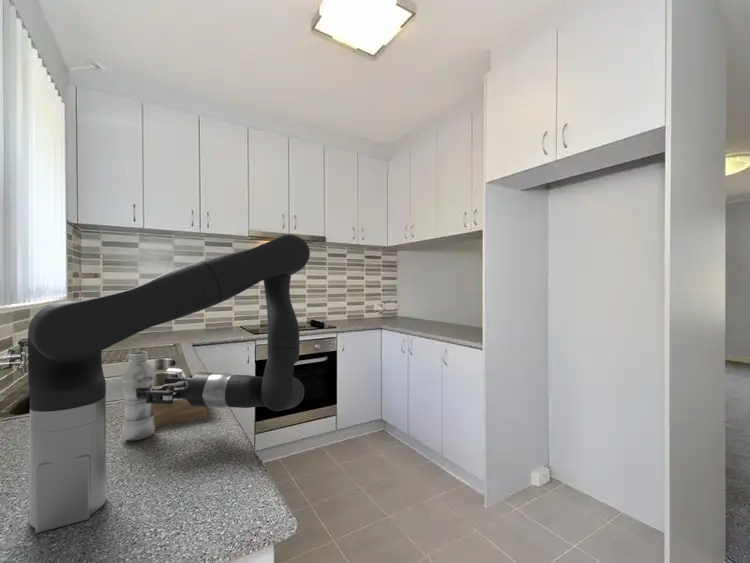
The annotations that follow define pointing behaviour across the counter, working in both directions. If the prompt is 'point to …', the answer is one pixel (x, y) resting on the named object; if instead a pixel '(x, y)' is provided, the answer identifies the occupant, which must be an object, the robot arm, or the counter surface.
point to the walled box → (177, 412)
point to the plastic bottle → (137, 411)
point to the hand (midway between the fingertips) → (152, 387)
